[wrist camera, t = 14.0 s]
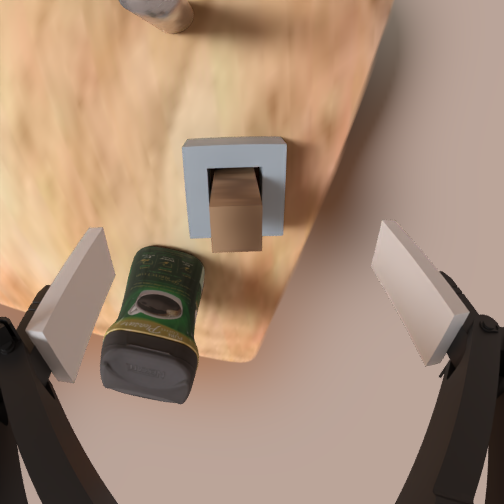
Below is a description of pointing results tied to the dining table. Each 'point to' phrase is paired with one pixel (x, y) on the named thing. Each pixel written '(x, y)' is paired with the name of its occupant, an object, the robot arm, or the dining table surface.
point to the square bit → (235, 211)
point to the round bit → (162, 13)
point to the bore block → (228, 156)
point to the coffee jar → (155, 328)
